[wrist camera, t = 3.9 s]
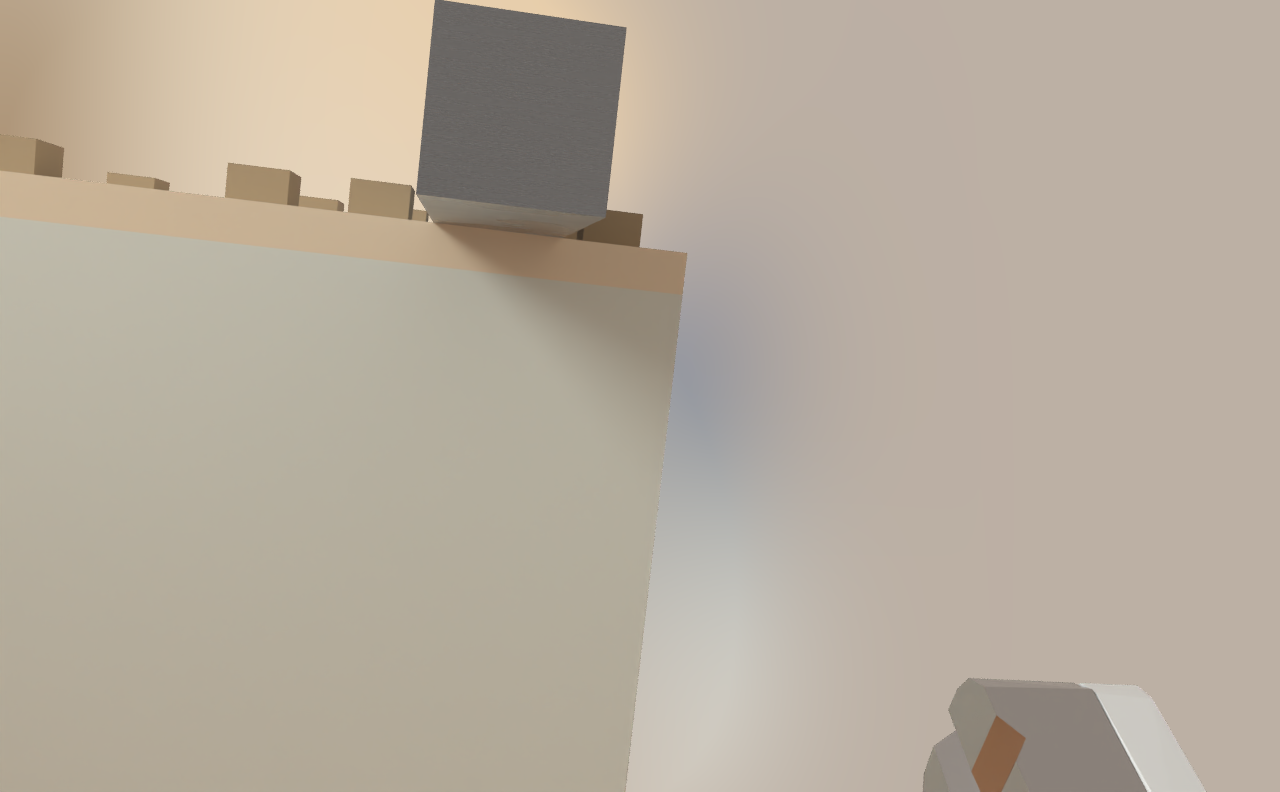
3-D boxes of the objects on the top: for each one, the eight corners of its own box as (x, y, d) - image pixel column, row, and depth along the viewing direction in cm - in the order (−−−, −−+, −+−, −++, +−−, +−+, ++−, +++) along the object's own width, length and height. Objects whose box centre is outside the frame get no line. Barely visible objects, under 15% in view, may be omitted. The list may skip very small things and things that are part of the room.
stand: (570, 1268, 30) (692, 211, 28) (-196, 1277, 28) (-125, 108, 26) (530, 880, 50) (600, 240, 48) (81, 863, 47) (134, 184, 45)
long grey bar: (605, 217, 19) (626, 27, 19) (416, 193, 19) (435, -1, 18) (525, 255, 47) (533, 179, 46) (448, 246, 46) (455, 169, 46)
